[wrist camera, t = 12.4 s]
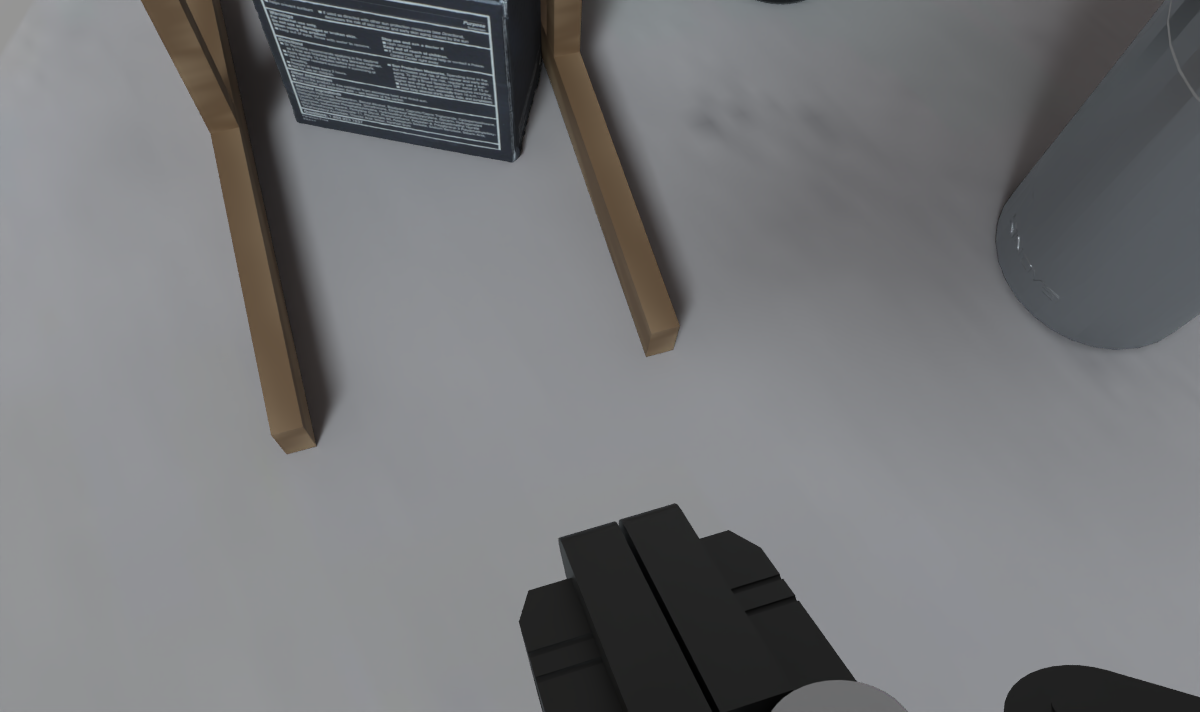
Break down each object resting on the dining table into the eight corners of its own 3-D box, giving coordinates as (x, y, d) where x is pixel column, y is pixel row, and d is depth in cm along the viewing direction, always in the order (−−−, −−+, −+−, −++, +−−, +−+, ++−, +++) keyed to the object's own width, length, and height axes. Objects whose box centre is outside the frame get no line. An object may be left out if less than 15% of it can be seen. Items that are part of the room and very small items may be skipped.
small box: (547, 53, 50) (547, -123, 40) (518, 167, 47) (510, 9, 38) (332, 14, 50) (279, -170, 41) (291, 125, 48) (226, -42, 38)
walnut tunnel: (521, -73, 53) (512, -351, 40) (673, 349, 44) (724, 171, 31) (191, -6, 50) (67, -280, 37) (286, 454, 42) (168, 307, 29)
